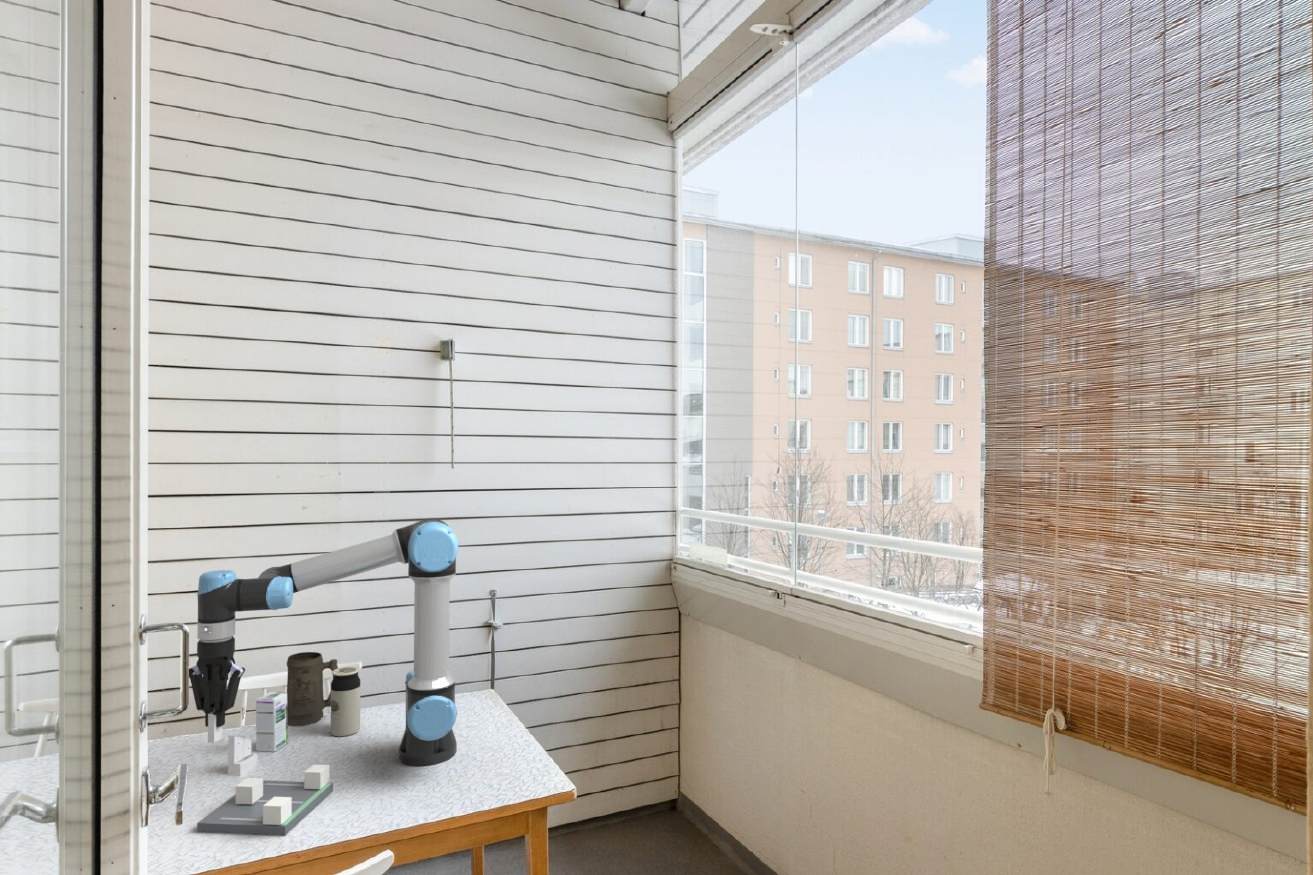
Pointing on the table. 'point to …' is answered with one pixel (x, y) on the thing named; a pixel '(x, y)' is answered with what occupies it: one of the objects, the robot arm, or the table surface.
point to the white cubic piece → (316, 777)
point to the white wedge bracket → (240, 756)
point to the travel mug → (345, 701)
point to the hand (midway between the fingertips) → (214, 739)
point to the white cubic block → (249, 791)
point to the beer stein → (306, 688)
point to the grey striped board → (251, 815)
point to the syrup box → (271, 721)
